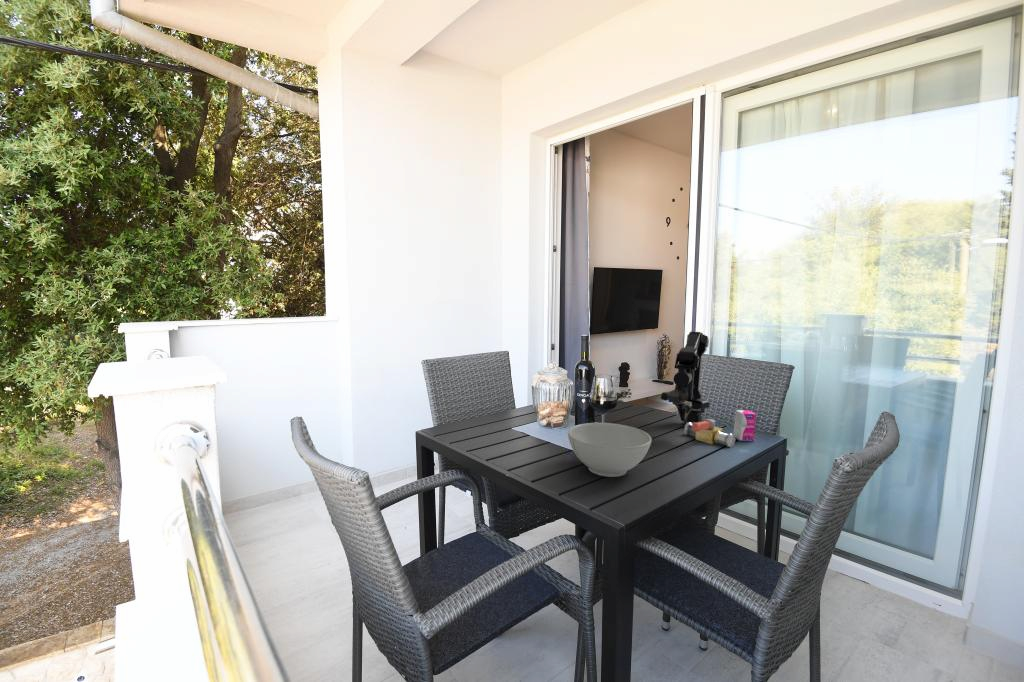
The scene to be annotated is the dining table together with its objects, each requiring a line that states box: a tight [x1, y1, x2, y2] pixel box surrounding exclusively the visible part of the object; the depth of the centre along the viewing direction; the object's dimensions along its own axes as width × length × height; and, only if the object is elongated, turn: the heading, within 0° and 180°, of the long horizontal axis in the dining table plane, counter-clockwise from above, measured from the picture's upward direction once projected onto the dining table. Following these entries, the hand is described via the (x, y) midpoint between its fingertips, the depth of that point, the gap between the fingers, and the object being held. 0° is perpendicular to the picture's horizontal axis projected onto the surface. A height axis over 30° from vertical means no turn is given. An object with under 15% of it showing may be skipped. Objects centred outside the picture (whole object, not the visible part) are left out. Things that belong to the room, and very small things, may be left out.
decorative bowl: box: [567, 422, 652, 478], centre depth 160 cm, size 27×27×12 cm
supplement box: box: [732, 409, 757, 442], centre depth 197 cm, size 6×6×12 cm
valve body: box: [683, 422, 736, 448], centre depth 194 cm, size 19×7×5 cm, turn 36°
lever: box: [692, 418, 716, 432], centre depth 191 cm, size 13×4×3 cm, turn 126°
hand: (682, 421), depth 194 cm, fingers closed
